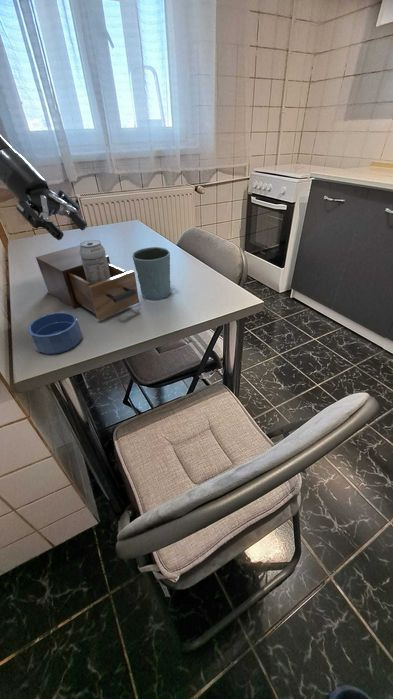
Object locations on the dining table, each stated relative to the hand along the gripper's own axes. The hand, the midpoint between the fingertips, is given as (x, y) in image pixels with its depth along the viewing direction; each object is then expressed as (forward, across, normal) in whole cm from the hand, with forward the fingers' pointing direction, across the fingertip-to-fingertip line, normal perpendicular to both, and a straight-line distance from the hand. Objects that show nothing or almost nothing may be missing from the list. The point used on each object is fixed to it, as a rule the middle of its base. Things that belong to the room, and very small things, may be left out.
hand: (73, 232), depth 71 cm
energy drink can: (+15, 0, +9) cm, 18 cm away
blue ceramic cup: (+24, +11, +4) cm, 27 cm away
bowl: (+17, -18, +10) cm, 27 cm away
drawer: (+17, -1, +8) cm, 19 cm away
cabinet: (+8, +5, +19) cm, 21 cm away
